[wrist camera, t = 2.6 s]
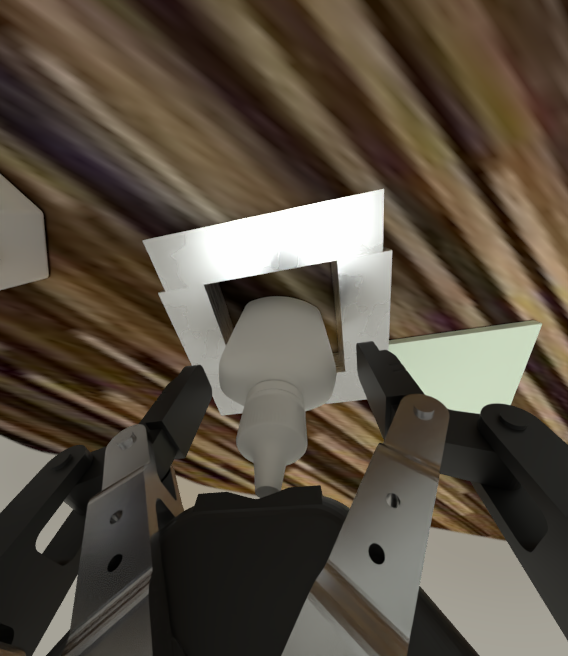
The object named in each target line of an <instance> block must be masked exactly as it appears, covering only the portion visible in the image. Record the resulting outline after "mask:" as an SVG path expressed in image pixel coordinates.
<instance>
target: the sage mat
mask: <svg viewBox="0 0 568 656" xmlns="http://www.w3.org/2000/svg"><path fill="white" fill-rule="evenodd" d="M541 326H542V323H540V322H538V321H535V320H531V321H524V322H517V323H509V324H502V325H495V326H488V327H481V328H474V329H466V330H459V331H452V332H445V333H438V334H431V335H423V336H416V337H409V338H402V339H395V340H389V352H391V353H393V354H394V355H396V356H397V358H398V359H399V360H400V362H401V364H403V366H404V367H405V368H406V371H408V372H409V374H410V375H411V377H412V378H413V379H414V381H415V382H416V383H417V385H418V386H419V387H420V389H421V390H422V391H423V393H424V394H425V395H428V396H431V397H433V398H435V399H437V400H439V401H440V402H441V403H443V404H444V405H445V407H446V408H447V409H450V410H455V411H462V412H469V413H476V414H480V412H481V410H482V408H483V407H484V406H486V405H488V404H494V403H500V404H507V405H511V402H512V400H513V397H514V395H515V392H516V390H517V387H518V385H519V382H520V379H521V377H522V374H523V372H524V369H525V367H526V364H527V362H528V359H529V357H530V354H531V351H532V349H533V346H534V344H535V341H536V339H537V336H538V334H539V331H540V328H541ZM380 432H381V431H380ZM381 435H382V434H381ZM382 437H383V436H382Z"/></svg>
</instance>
